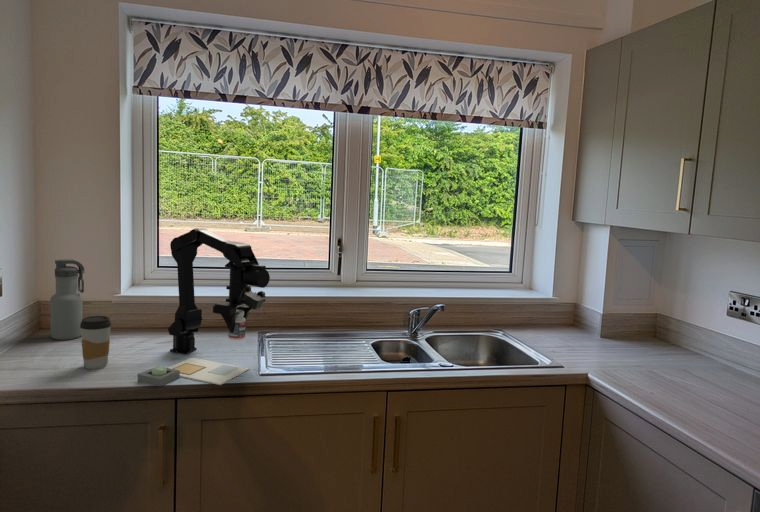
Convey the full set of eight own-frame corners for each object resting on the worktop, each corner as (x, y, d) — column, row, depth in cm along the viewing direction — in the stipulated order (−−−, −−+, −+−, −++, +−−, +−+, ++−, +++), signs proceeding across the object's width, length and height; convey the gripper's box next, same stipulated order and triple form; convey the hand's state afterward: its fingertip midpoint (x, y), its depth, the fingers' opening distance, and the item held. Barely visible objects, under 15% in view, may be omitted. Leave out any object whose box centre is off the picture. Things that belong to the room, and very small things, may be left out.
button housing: (137, 381, 146) (137, 374, 145) (157, 373, 153) (158, 366, 153) (160, 386, 143) (160, 379, 143) (179, 377, 151) (179, 370, 150)
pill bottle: (240, 341, 160) (241, 314, 159) (225, 339, 161) (226, 312, 160) (247, 336, 166) (248, 310, 164) (232, 334, 166) (234, 308, 165)
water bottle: (80, 331, 190) (80, 257, 186) (86, 337, 183) (86, 261, 179) (48, 335, 183) (47, 258, 180) (53, 342, 176) (52, 262, 172)
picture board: (159, 372, 154) (159, 370, 154) (191, 358, 168) (192, 357, 168) (220, 385, 147) (220, 383, 147) (249, 369, 161) (249, 368, 161)
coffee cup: (117, 364, 158) (117, 317, 156) (94, 372, 150) (94, 323, 149) (97, 360, 161) (97, 314, 159) (73, 367, 153) (73, 319, 151)
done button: (148, 377, 147) (148, 369, 147) (158, 373, 151) (158, 365, 150) (159, 379, 146) (159, 371, 145) (169, 375, 149) (169, 367, 149)
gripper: (244, 290, 150) (242, 341, 152) (275, 281, 168) (273, 327, 170) (212, 286, 153) (210, 335, 155) (246, 277, 171) (244, 322, 173)
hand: (236, 330), depth 163 cm, fingers closed on pill bottle, 5 cm apart
